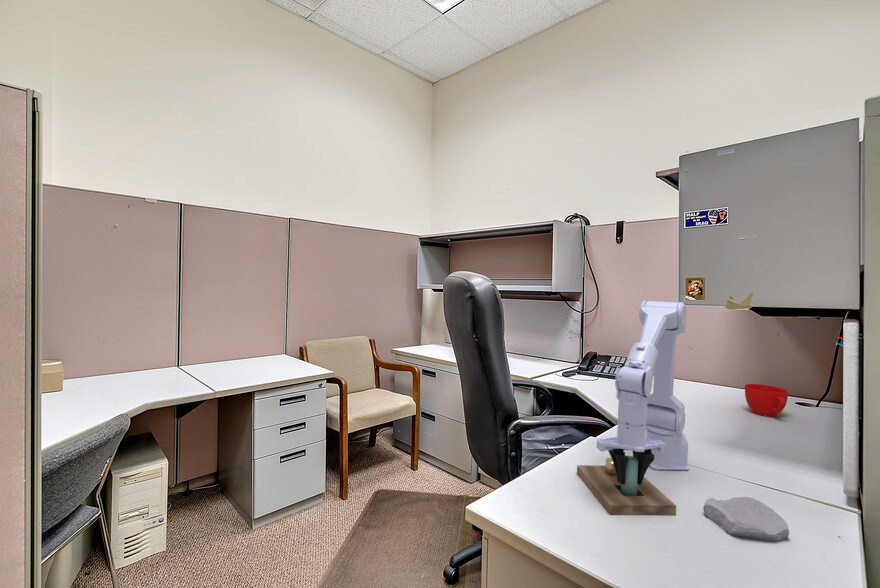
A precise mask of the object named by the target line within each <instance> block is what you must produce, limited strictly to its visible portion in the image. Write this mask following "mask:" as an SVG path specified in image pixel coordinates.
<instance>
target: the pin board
mask: <svg viewBox="0 0 880 588" xmlns="http://www.w3.org/2000/svg"><path fill="white" fill-rule="evenodd" d="M576 474H577V475H578V477H579V478H580V479H581V480H582V481H583V483H584V484H585V485H586V487H587V488H588V489H589V491H590V492H591V493H592V494H593V495H594V497H596V500H598V501H599V503H600V504H601V505H602V507H603V508H604V509H605V510H606V512H607V513H608V514H609V516H610V515H611V516H612V515H615V516H616V515H617V516H622V515H623V516H624V515H625V516H627V515H628V516H632V515H633V516H639V515H640V516H676V515H677V505H676V504H675V503H674V502H673V501H672V500H671V499H670V498H669V497H667V496H666V495H665V494H664V493H663V492H662V491H661V490H659V488H657V487H656V485H654V484H653V483H652V482H650V481H649V480H648V479H647V477H645V476H644V478H643V481H642V484H641V485H638V484H637V496H623V494H622V493H621V484H620V483H619V482H618V480H617V475H616V470H615V467H614V463H613V460H612V458H611V457H609V458H606V459H605V465H595V464H594V465H589V464H587V465H586V464H585V465H582V464H579V465H578V464H577V465H576Z"/></svg>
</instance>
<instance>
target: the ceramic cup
mask: <svg viewBox="0 0 880 588" xmlns="http://www.w3.org/2000/svg"><path fill="white" fill-rule="evenodd" d="M744 396H745V401H746V403H747V405H748V407H749V408H750V409H751V410H752V411H753V413H754V414H756V415H760V416H762V417H763V416H764V417H769V418H770V417H774V418H775V417H777V416H778V415H779V414H781V413H782V411H783V410H784V409H786V408H785V407H786V406H787V402H788V396H789V391H788V390H786V389H785V388H782V387H778V386H775V385H774V386H772V385H768V384H767V385H766V384H760V383H759V384H758V383H747V384H745V385H744Z"/></svg>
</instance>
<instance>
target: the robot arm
mask: <svg viewBox="0 0 880 588" xmlns="http://www.w3.org/2000/svg"><path fill="white" fill-rule="evenodd" d="M638 311H639V312H638V315H639V321H640V322H641V325H642V326H643V327H642V331H641V333H640V338H639V342H638V341H637V342H635V343H634V344H632V346H631V348H630V351H629V353H628V355H627V358H626V360H625V363H624V366H622V367H620V368H618V369H617V370H616V373H615V380H614V385H615V390H616V396H615V397H616V400H618V404H617V405H618V406H617V407H618V410H617V429H616V436H614V437H609V438H602V439H601V438H599V439H596V449H597V450H599V451H600V452H605V451H608V453H609V455H610V458H612V460H613V463H614V467H615V470H616V475H617V480H618V482H619V483H620V484H625V475H626V466H627V462H628V459H629V458H628V457H627V456H628V455H626V452H625V451H631V452H632V456H633V457H635V458H637V459H638V480H637V484H638V485H641V484H642V481H643V478H644V477H645V475H646V473H647V470H648V468H649V467H650V468H651V469H652V470H660V471H661V470H665V471H667V470H668V471H669V470H670V471H672V470H673V471H674V470H676V471H678V470H679V471H689V469H690V468H689V467H688V458H689V457H688V455H689V454H688V453H689V442H688V438H687V436H686V434H684V429H685V424H686V414H685V413H686V412H685V404H684V403H683V402H682V401H681V400H679V399H678V398H677V397H676V396H675V395H674V382H675V381H674V380H675V363H676V347H677V344H676V343H677V338H678V335H681V334H685V333H686V327H687V314H688V312H687V305H686V304H685V303H684V302H683V301H680V302H675V301H674V302H671V301H653V300H645V299H644V300H643V301H642V302H641V304H640V306H639V310H638ZM652 388H653V390H652ZM651 392H652V393H651Z"/></svg>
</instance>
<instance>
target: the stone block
mask: <svg viewBox="0 0 880 588" xmlns="http://www.w3.org/2000/svg"><path fill="white" fill-rule="evenodd" d="M702 509H703V513H704V515H705V517H707V518H708V519H709V520H710V521H712V522H713V523H715V524H716V525H718V526H719V527H721V529H722V530H723V531H725V533H727V534H728V535H732V536H738V537H739V536H740V537H745V538H752V539H757V540H764V541H765V540H766V541H772V542H779V541H783V540H786V539H787V538H788V537H789V535H790V530H789V529H790V528H789V525H788V524H787V522H786V520H785V519H784V518H783V517H781V516H780V515H779V513H777V512H776V511H775V510H774V509H773V508H772V507H769V506H768V505H767V504H766V503H764V502H762V501H760V500H759V499H756V498H755V497H749V496H739V497H732V498H730V499H726V500H722V499H716V498H714V497H710V498H709V497H708V498H707V499H706V500H705V502H704V505H703V508H702Z"/></svg>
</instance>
